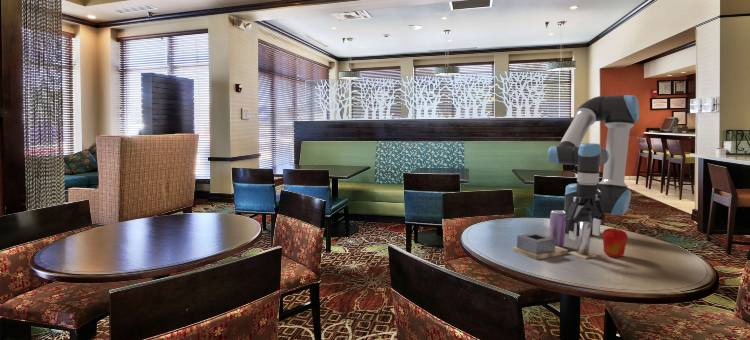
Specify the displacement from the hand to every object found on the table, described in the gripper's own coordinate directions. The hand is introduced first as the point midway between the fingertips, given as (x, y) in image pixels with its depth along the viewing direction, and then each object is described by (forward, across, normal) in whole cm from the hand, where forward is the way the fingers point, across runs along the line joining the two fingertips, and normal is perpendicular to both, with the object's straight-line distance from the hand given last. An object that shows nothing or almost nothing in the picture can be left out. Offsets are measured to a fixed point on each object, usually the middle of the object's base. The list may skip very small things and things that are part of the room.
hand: (584, 237), depth 161 cm
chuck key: (+7, 0, 0) cm, 7 cm away
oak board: (+7, +12, -10) cm, 18 cm away
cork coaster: (+7, 0, 0) cm, 7 cm away
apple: (+7, -10, +6) cm, 14 cm away
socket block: (+6, +15, -10) cm, 19 cm away
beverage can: (+7, 0, -13) cm, 15 cm away
